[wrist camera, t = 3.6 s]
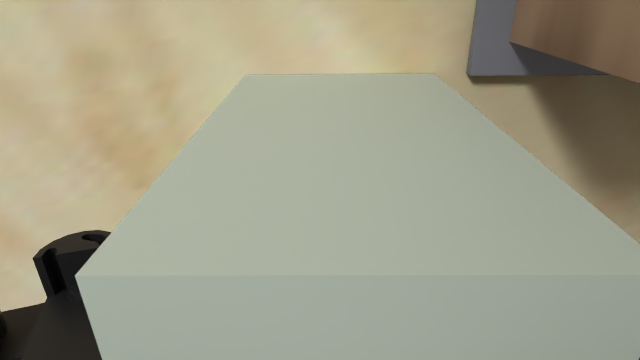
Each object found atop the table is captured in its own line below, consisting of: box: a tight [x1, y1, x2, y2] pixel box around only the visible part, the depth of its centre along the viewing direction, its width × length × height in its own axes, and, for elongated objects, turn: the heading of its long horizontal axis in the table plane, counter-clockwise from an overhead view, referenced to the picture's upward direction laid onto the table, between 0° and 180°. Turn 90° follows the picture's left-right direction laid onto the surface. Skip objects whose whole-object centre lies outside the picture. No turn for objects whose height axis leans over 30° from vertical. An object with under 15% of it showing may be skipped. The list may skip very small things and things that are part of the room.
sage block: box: [75, 73, 640, 360], centre depth 10 cm, size 6×6×10 cm
